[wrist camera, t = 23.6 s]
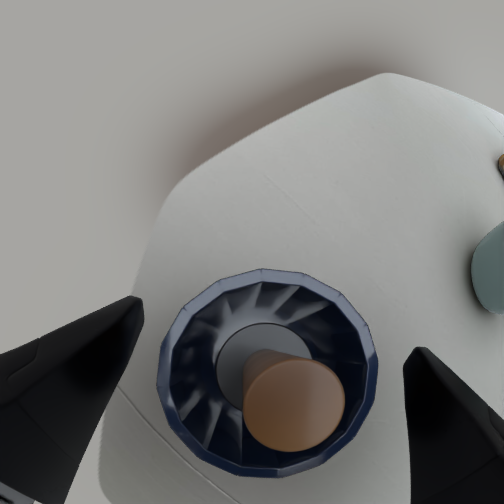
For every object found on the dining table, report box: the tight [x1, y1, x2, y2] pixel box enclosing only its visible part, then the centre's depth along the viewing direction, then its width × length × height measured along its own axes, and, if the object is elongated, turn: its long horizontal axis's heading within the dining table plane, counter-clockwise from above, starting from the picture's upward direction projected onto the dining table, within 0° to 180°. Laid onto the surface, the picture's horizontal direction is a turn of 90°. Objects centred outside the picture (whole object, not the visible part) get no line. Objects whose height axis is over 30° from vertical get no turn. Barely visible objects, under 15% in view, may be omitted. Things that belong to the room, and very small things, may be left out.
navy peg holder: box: [156, 268, 378, 478], centre depth 12 cm, size 8×8×8 cm
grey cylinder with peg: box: [215, 323, 345, 452], centre depth 10 cm, size 4×4×11 cm
